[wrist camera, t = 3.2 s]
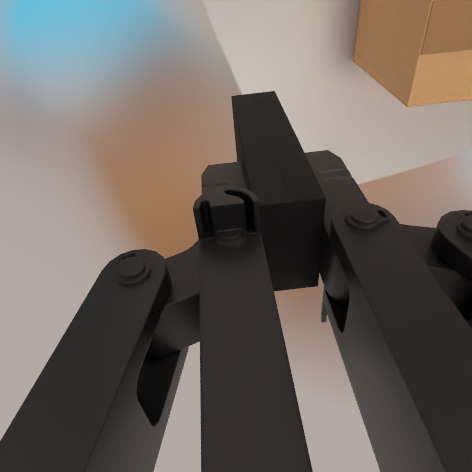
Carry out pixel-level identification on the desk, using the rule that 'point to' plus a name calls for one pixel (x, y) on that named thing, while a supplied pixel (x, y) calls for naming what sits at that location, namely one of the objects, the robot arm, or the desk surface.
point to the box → (417, 48)
